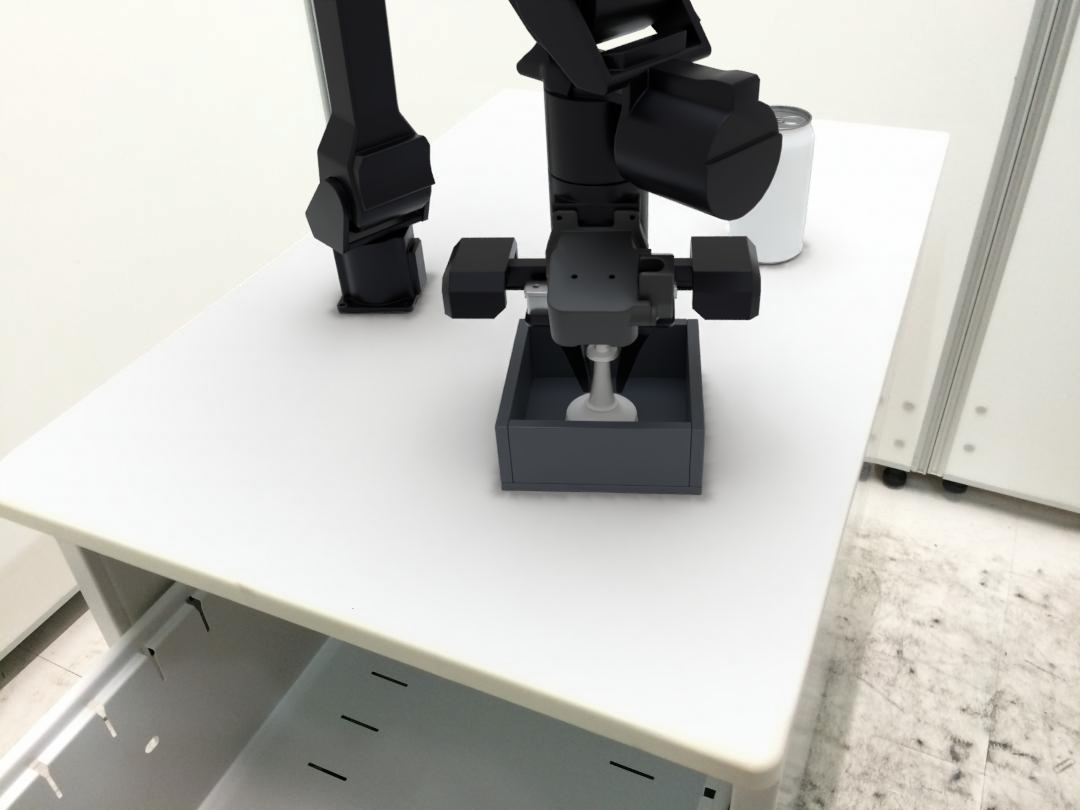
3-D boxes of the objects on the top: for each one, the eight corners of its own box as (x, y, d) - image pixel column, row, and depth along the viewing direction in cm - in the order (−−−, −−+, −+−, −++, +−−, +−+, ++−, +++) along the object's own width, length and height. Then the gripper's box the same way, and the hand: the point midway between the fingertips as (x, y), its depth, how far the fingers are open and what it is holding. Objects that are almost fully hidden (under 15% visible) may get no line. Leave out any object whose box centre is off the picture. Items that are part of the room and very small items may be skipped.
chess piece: (594, 391, 67) (594, 265, 61) (652, 416, 64) (658, 288, 58) (550, 425, 64) (546, 296, 58) (609, 453, 61) (611, 321, 55)
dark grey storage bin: (501, 490, 60) (494, 426, 57) (524, 376, 70) (519, 318, 67) (701, 494, 58) (705, 430, 55) (695, 378, 68) (698, 318, 65)
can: (802, 267, 81) (819, 131, 74) (726, 264, 82) (734, 130, 75) (801, 233, 86) (816, 103, 79) (729, 231, 87) (737, 102, 80)
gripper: (405, 231, 48) (442, 465, 57) (782, 228, 46) (756, 473, 55) (445, 147, 57) (471, 362, 66) (762, 142, 54) (743, 365, 64)
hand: (602, 389), depth 62 cm, fingers closed on chess piece
